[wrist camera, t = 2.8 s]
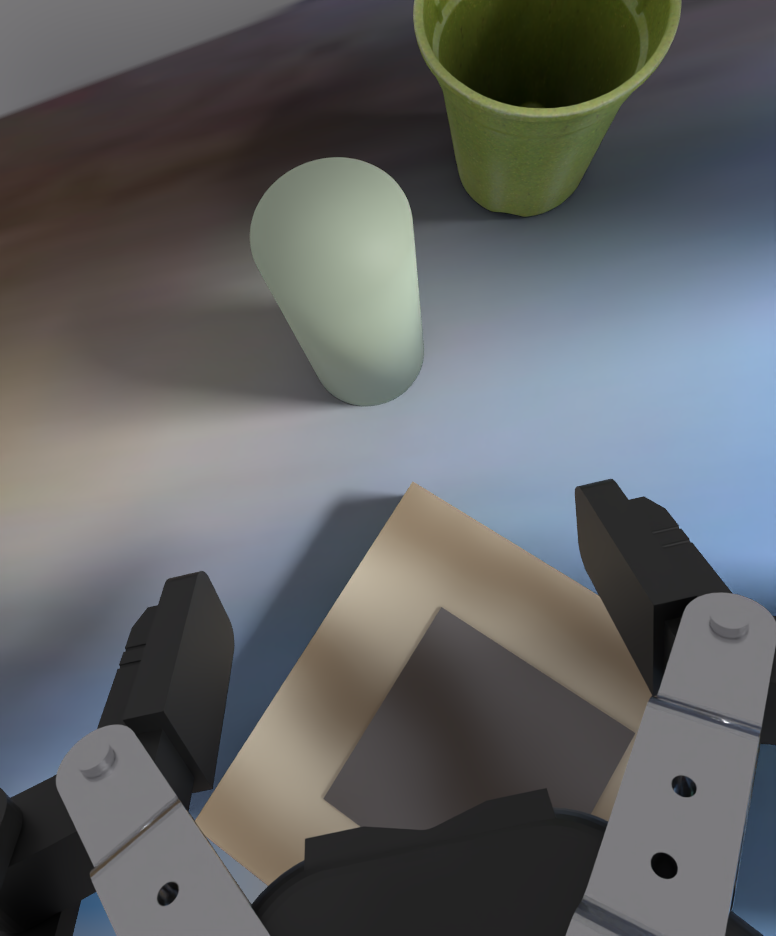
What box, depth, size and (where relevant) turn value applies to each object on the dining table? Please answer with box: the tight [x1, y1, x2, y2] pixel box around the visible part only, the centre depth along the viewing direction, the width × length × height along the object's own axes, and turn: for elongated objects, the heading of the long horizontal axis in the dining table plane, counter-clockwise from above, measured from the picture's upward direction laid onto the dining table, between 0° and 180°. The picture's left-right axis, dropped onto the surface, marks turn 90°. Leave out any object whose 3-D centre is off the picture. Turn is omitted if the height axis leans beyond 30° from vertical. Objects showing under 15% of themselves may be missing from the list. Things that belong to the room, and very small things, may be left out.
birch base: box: [195, 482, 656, 886], centre depth 24 cm, size 15×15×3 cm
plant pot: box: [413, 0, 681, 217], centre depth 27 cm, size 9×9×9 cm
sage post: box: [250, 157, 424, 406], centre depth 25 cm, size 5×5×10 cm
